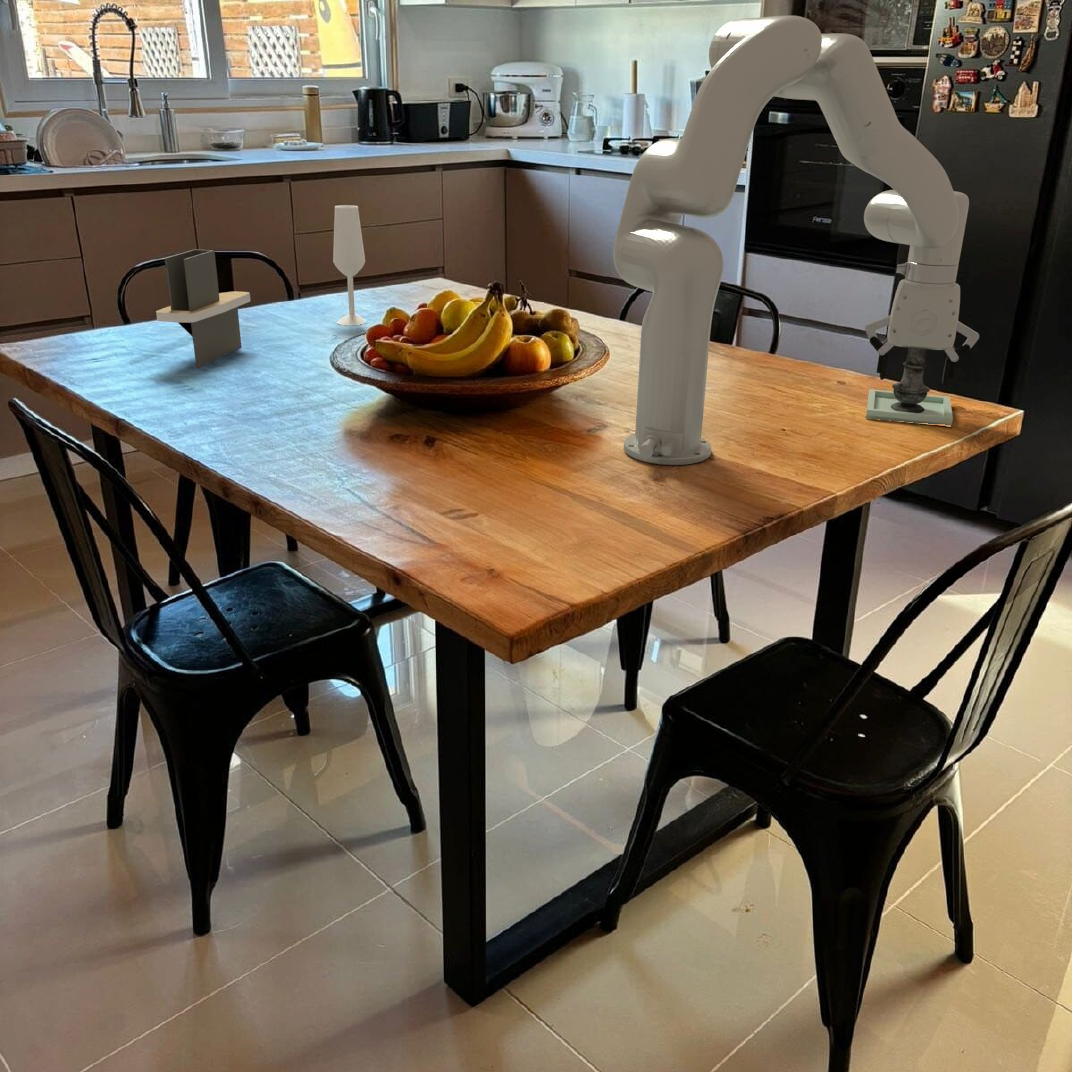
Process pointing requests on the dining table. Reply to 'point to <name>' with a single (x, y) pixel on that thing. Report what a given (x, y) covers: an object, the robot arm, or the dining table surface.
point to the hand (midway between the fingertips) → (913, 380)
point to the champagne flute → (348, 253)
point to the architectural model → (202, 305)
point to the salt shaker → (911, 383)
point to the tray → (934, 412)
